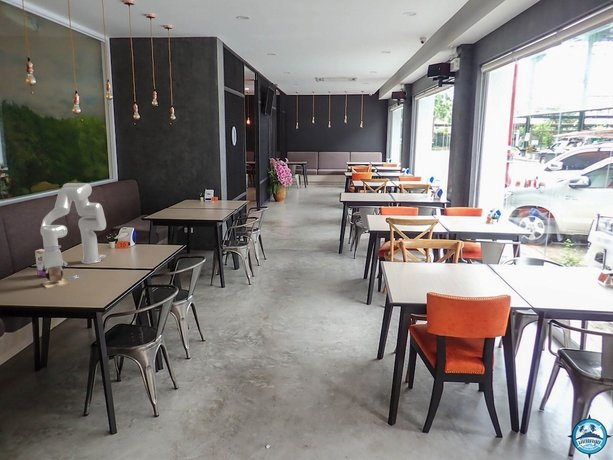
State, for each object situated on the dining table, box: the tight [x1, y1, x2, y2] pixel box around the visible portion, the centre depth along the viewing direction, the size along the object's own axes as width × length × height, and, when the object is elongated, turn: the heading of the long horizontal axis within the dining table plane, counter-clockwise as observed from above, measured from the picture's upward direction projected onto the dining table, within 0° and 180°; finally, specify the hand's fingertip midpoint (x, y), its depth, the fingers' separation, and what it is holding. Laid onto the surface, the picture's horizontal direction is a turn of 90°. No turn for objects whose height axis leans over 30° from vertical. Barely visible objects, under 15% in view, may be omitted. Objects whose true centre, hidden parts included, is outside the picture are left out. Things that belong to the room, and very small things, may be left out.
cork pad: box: [41, 277, 70, 289], centre depth 282 cm, size 12×12×1 cm
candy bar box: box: [34, 248, 46, 278], centre depth 298 cm, size 11×5×16 cm, turn 71°
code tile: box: [66, 273, 86, 281], centre depth 296 cm, size 9×9×1 cm
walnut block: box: [48, 267, 63, 282], centre depth 281 cm, size 6×6×8 cm
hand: (54, 277), depth 282 cm, fingers closed on walnut block, 6 cm apart
